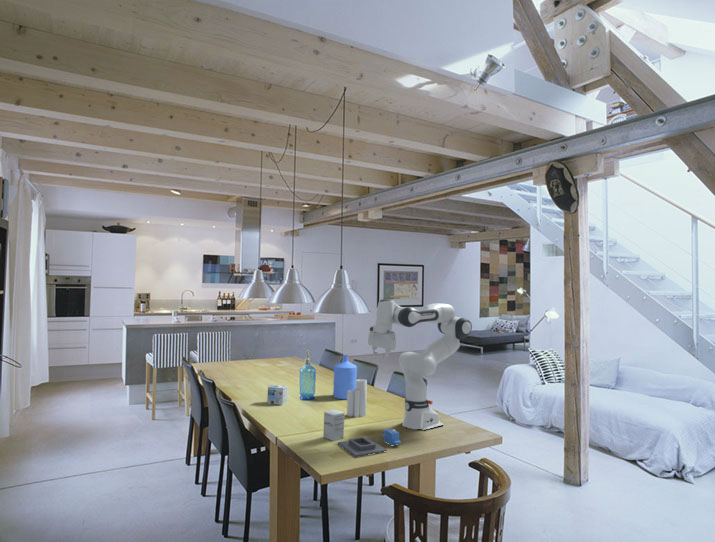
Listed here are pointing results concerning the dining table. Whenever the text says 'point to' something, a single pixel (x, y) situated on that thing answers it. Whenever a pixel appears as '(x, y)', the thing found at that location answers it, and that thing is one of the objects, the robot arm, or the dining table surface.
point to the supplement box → (333, 425)
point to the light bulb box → (277, 394)
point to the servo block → (391, 436)
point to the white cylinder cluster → (357, 399)
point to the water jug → (344, 378)
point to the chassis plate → (361, 446)
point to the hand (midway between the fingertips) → (380, 356)
